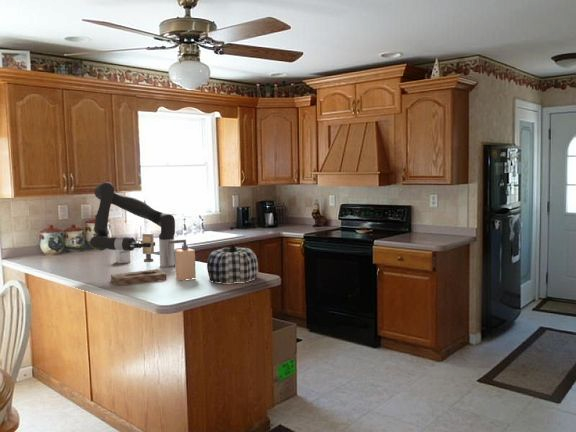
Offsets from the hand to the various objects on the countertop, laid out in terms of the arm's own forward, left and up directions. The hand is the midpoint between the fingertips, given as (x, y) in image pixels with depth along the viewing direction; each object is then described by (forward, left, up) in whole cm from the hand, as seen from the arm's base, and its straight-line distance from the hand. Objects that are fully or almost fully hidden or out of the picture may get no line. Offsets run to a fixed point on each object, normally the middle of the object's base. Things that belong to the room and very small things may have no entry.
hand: (152, 244), depth 288 cm
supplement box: (0, -66, -20) cm, 69 cm away
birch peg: (+2, -2, -9) cm, 10 cm away
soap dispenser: (-13, +9, -20) cm, 25 cm away
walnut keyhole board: (+8, -2, -19) cm, 21 cm away
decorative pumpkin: (-36, +26, -20) cm, 49 cm away
